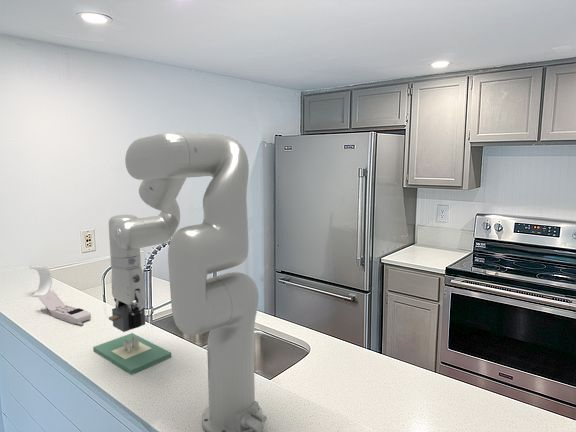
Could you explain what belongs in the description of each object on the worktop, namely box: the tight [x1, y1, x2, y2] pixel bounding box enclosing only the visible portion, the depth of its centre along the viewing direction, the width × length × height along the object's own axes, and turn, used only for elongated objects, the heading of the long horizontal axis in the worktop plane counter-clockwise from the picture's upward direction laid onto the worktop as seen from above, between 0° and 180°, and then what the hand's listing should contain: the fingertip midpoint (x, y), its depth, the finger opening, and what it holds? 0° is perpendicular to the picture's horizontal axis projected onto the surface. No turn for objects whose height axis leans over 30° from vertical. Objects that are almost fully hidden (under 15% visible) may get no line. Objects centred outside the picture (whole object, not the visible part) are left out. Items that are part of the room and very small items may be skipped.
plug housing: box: [108, 301, 146, 333], centre depth 116 cm, size 6×8×5 cm, turn 140°
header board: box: [92, 332, 172, 375], centre depth 117 cm, size 20×12×4 cm, turn 50°
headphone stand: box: [29, 265, 53, 298], centre depth 165 cm, size 5×6×12 cm
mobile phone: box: [37, 291, 92, 327], centre depth 144 cm, size 6×6×25 cm
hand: (129, 323), depth 117 cm, fingers closed on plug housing, 5 cm apart
